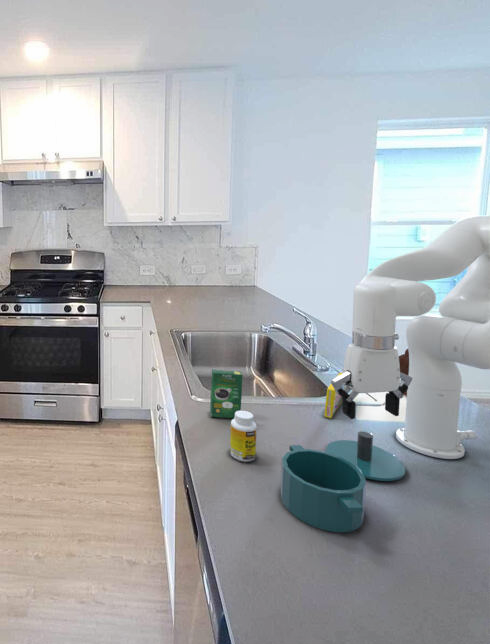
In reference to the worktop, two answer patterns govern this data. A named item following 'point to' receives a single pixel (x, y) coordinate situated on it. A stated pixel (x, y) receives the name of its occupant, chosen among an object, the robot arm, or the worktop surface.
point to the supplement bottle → (243, 436)
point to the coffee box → (225, 393)
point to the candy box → (332, 400)
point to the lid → (368, 458)
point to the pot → (323, 489)
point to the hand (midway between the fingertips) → (370, 414)
